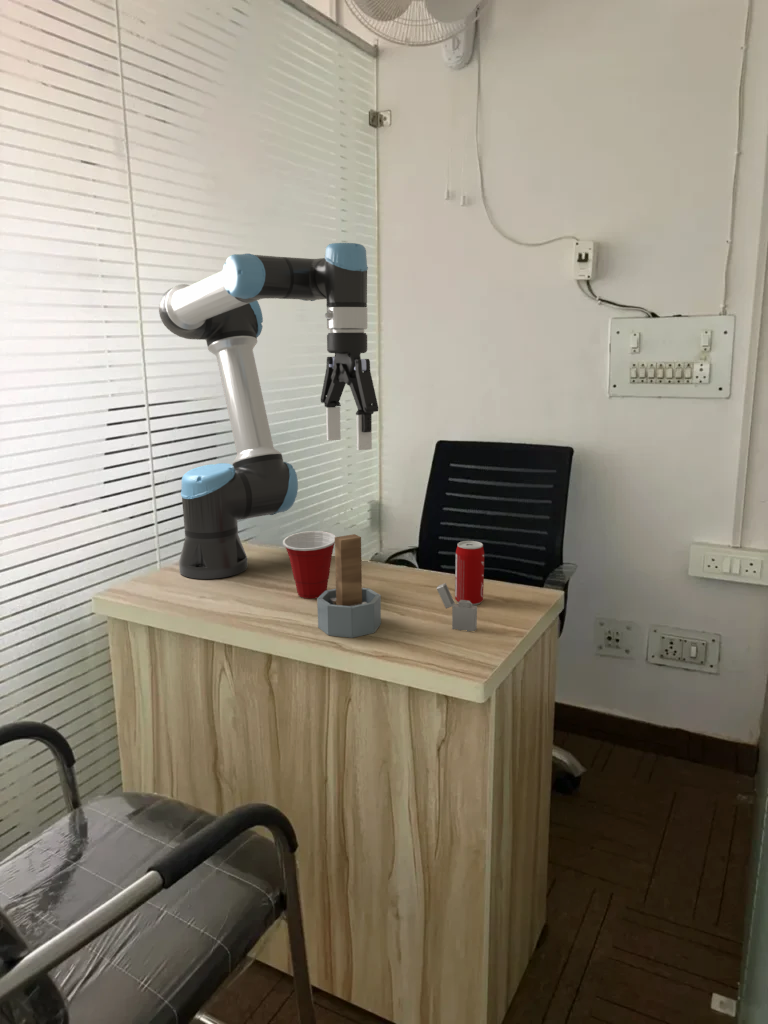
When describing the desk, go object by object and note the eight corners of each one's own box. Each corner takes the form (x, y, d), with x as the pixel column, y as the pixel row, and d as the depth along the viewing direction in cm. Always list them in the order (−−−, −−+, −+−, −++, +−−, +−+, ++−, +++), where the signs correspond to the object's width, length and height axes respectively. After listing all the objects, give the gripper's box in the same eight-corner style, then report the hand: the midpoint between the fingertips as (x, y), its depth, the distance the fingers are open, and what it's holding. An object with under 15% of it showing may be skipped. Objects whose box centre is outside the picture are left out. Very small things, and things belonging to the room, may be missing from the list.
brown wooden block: (336, 622, 135) (334, 537, 131) (356, 618, 136) (354, 534, 133) (342, 626, 133) (340, 540, 129) (362, 622, 134) (361, 537, 131)
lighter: (476, 628, 133) (477, 586, 131) (474, 632, 131) (475, 589, 129) (439, 623, 135) (439, 581, 133) (436, 627, 134) (436, 584, 132)
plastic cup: (274, 598, 149) (271, 541, 146) (304, 582, 158) (302, 528, 156) (319, 607, 144) (317, 547, 141) (347, 590, 153) (346, 534, 151)
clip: (330, 619, 136) (329, 598, 135) (353, 614, 138) (352, 594, 137) (345, 630, 131) (345, 609, 130) (369, 625, 133) (369, 604, 132)
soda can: (486, 605, 144) (487, 546, 141) (458, 607, 143) (459, 547, 141) (479, 596, 149) (480, 538, 147) (452, 597, 149) (453, 539, 146)
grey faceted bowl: (310, 621, 137) (309, 593, 135) (361, 611, 142) (361, 583, 140) (336, 641, 128) (335, 611, 126) (389, 629, 133) (389, 600, 131)
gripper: (302, 331, 147) (305, 437, 152) (358, 331, 126) (359, 455, 131) (337, 331, 150) (338, 435, 155) (397, 331, 129) (396, 452, 134)
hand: (348, 444), depth 143 cm, fingers open, 13 cm apart
